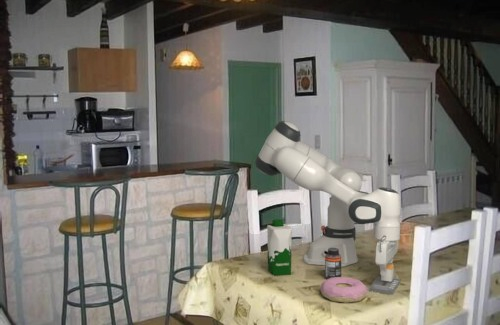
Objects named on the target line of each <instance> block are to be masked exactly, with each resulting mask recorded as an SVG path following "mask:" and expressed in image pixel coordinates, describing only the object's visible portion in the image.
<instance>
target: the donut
mask: <svg viewBox="0 0 500 325" xmlns="http://www.w3.org/2000/svg"><path fill="white" fill-rule="evenodd" d="M320 284H321V285H320V292H321V294H322V296H323V297H324V298H326V299H328V300H329V301H331V302H335V303H343V302H344V304H345V303H346V304H348V303H349V302H350V303H356V302H357V303H358V302H360V301H362V300H363V299H364V298H365V297H367V294H368V291H367V285H365V284H364V283H363V282H362V281H361V280H360V279H356V278H353V277H347V276H346V277H345V276H341V277H334V278H330V279H324V280H323V282H322V283H320Z"/></svg>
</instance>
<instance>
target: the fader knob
mask: <svg viewBox="0 0 500 325" xmlns="http://www.w3.org/2000/svg"><path fill="white" fill-rule="evenodd" d="M394 267H395V265H394V264H393V263H392V264H387V265H386V270H387V272H386V275H385V276H383V275H381V274H380V276H381V280H382V281H389V282H391V281H392V280H393V275H394Z"/></svg>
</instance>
